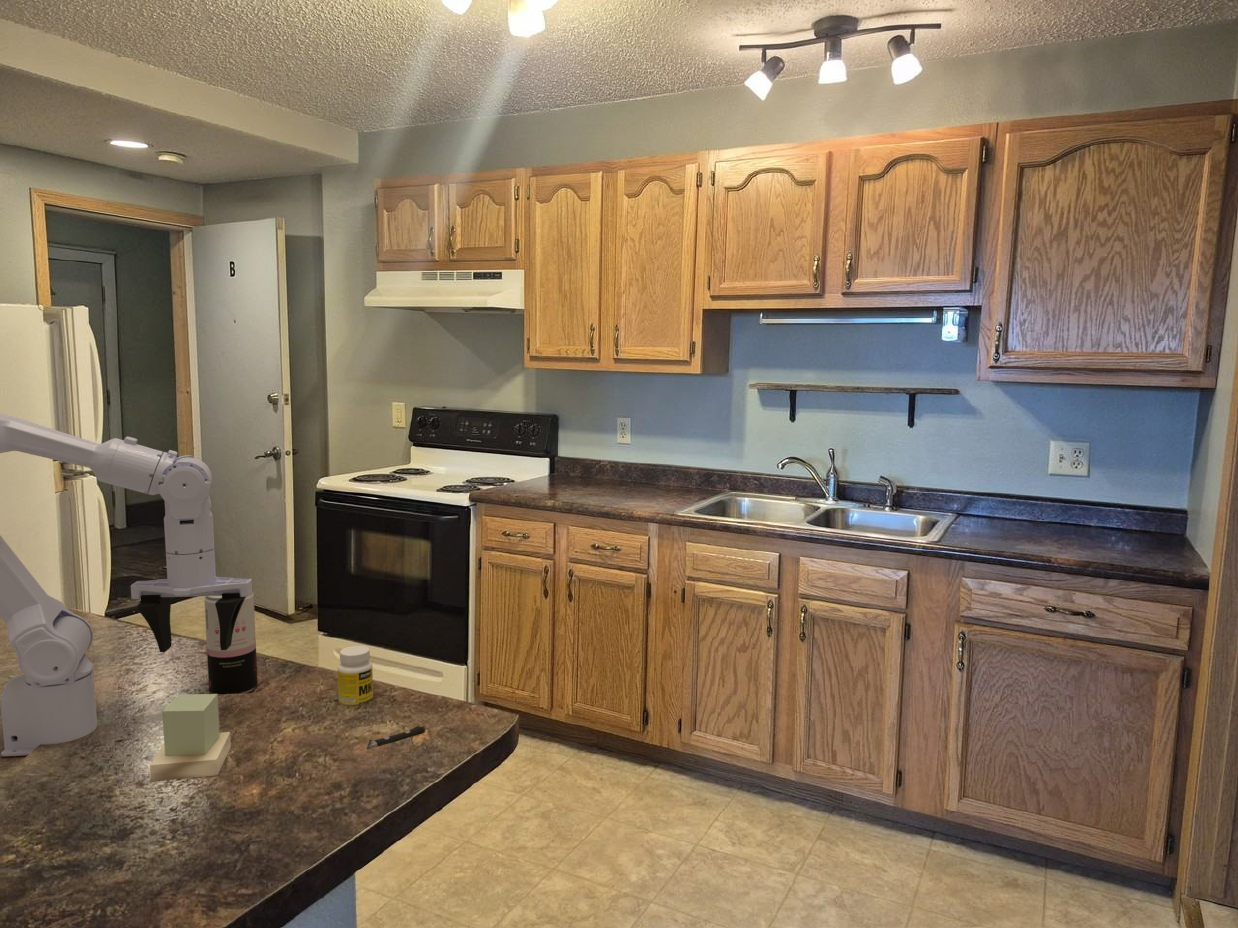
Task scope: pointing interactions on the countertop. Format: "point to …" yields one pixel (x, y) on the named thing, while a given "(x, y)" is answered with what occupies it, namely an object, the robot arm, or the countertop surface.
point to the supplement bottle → (355, 676)
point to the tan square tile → (191, 762)
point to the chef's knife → (395, 737)
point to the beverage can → (231, 650)
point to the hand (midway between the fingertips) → (196, 648)
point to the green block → (191, 724)
